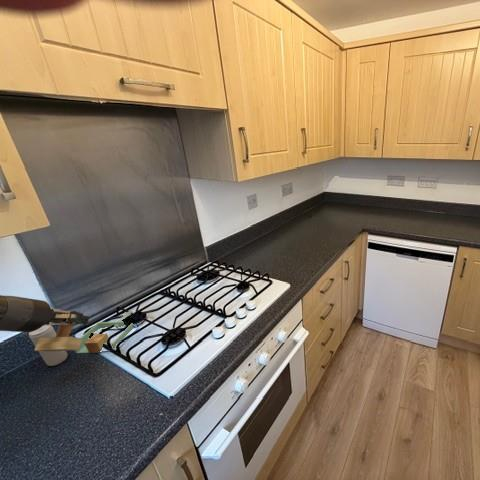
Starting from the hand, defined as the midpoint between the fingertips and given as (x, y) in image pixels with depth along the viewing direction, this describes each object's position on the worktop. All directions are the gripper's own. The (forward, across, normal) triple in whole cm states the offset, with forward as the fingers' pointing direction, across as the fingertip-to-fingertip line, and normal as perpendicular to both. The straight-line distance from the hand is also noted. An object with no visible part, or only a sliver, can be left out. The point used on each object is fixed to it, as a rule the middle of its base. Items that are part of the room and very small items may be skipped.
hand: (81, 320), depth 75 cm
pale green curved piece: (+16, +1, +3) cm, 16 cm away
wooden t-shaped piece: (-5, 0, +8) cm, 9 cm away
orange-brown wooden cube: (+8, +1, +7) cm, 11 cm away
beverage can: (+8, +11, +11) cm, 17 cm away
